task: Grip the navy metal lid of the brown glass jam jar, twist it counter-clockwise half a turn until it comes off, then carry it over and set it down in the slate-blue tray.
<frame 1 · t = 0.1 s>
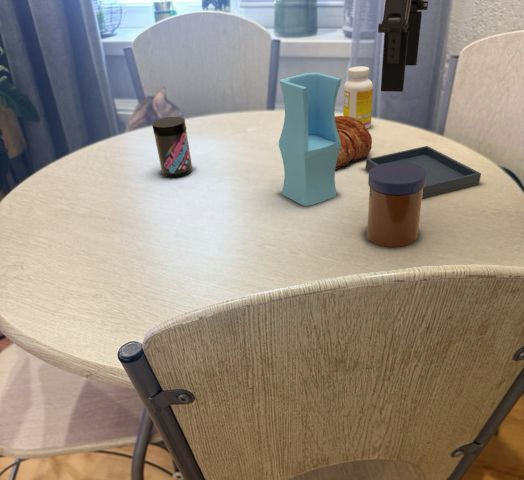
hand: (399, 77, 72), 23 cm above the table, tool pointing down, fingers open, 13 cm apart
jar: (391, 235, 86), on the table
lid: (397, 175, 80), point 10 cm above the table, screwed on, not yet turned
blue toy chair: (310, 195, 101), on the table
supplement container: (177, 173, 115), on the table
pastry: (340, 156, 115), on the table
supplement bottle: (356, 128, 129), on the table
tray: (419, 176, 104), on the table
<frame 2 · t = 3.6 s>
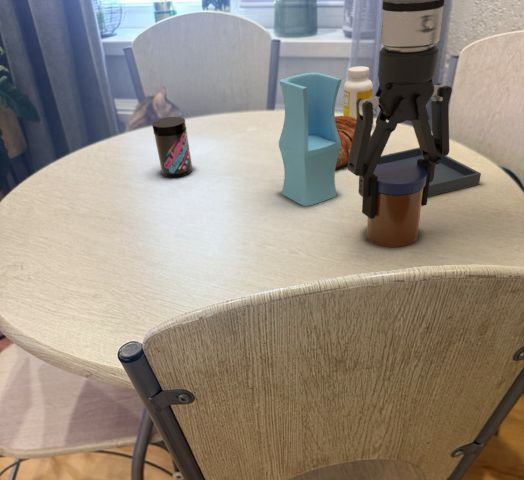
hand: (394, 208, 84), 5 cm above the table, tool pointing down, fingers closed on lid, 8 cm apart
lid: (397, 175, 80), point 10 cm above the table, screwed on, not yet turned, touching gripper
everything else where it was.
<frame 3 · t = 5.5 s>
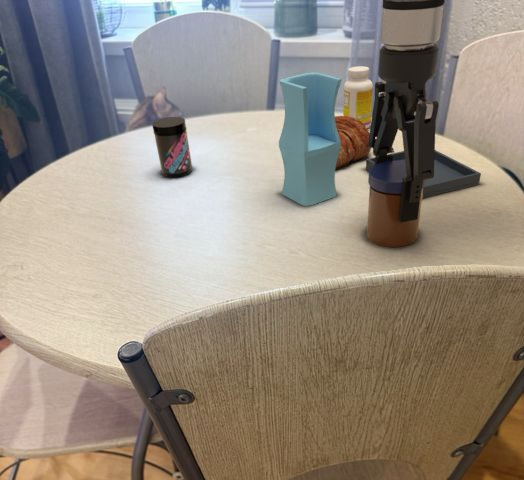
hand: (394, 207, 83), 5 cm above the table, tool pointing down, fingers closed on lid, 8 cm apart
lid: (397, 173, 80), point 10 cm above the table, turned 85° so far, risen 0.2 cm, still on its thread, touching gripper
everything else where it was.
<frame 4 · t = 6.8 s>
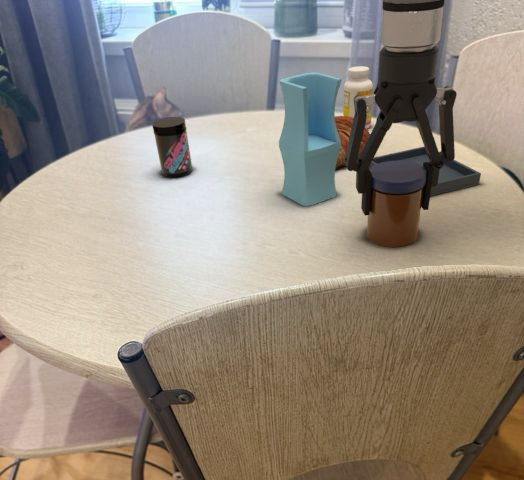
hand: (394, 208, 84), 5 cm above the table, tool pointing down, fingers closed on lid, 8 cm apart
lid: (397, 173, 80), point 10 cm above the table, off its thread, touching gripper
everything else where it was.
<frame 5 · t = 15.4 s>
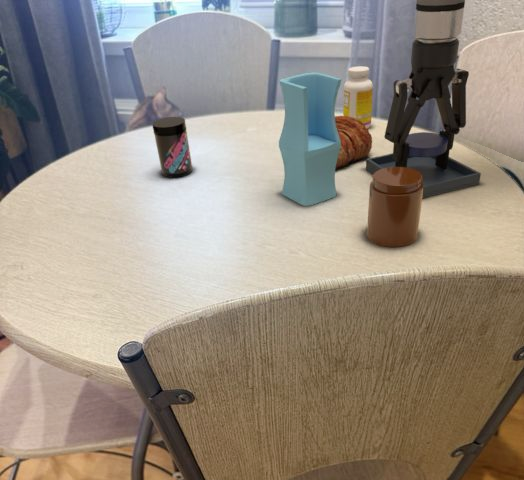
hand: (420, 171, 103), 1 cm above the table, tool pointing down, fingers closed on lid, 8 cm apart
lid: (423, 142, 99), point 7 cm above the table, off its thread, touching gripper
everything else where it was.
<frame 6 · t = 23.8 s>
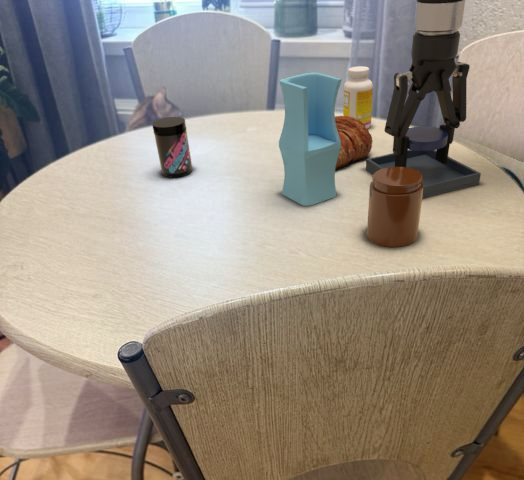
hand: (420, 165, 102), 2 cm above the table, tool pointing down, fingers closed on lid, 8 cm apart
lid: (423, 135, 99), point 8 cm above the table, off its thread, touching gripper
everything else where it was.
when the fingers open (4 cm above the table, at t = 32.1 s): lid drops 6 cm, resting on tray.
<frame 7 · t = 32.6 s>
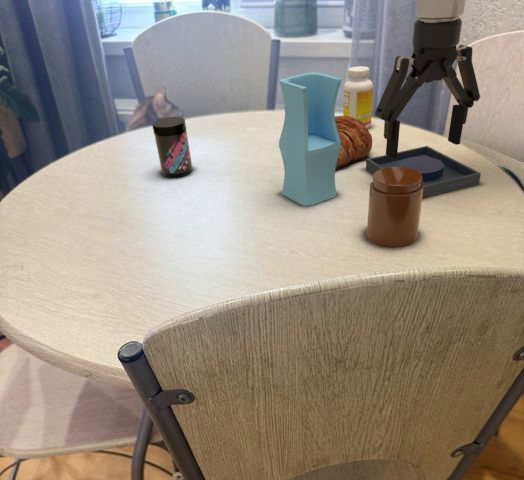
hand: (422, 149, 100), 5 cm above the table, tool pointing down, fingers open, 13 cm apart
lid: (420, 166, 102), point 2 cm above the table, off its thread, touching tray
everything else where it was.
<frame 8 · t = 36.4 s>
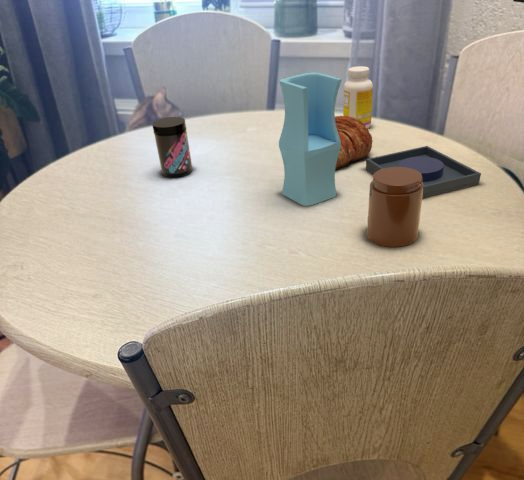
nothing on the table moved.
at the end: lid inside the target area in the tray (0.1 cm from its centre), point 1.9 cm above the tray's base; lid came off its thread; the gripper is holding nothing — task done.
